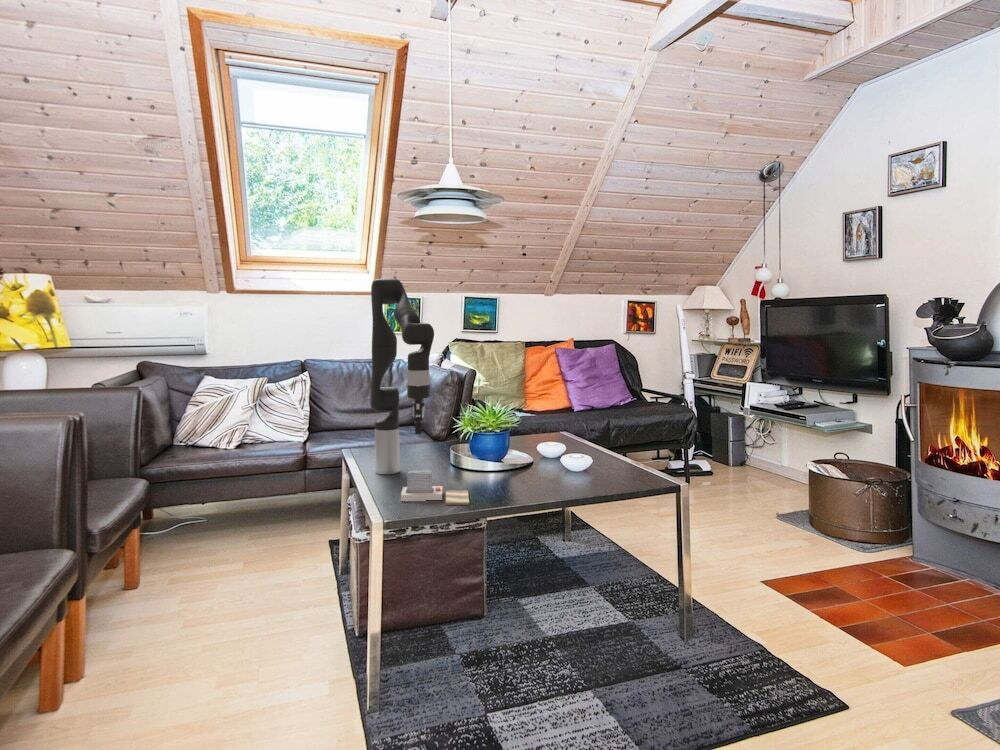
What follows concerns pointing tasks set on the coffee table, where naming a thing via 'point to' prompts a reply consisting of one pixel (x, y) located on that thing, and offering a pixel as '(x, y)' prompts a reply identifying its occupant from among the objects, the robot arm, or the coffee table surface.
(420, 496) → the power strip
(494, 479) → the coffee table surface
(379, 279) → the robot arm
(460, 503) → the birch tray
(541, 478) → the coffee table surface
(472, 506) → the coffee table surface
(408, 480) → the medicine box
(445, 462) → the coffee table surface
